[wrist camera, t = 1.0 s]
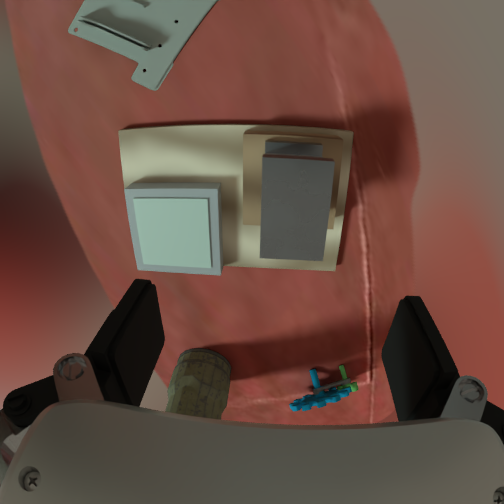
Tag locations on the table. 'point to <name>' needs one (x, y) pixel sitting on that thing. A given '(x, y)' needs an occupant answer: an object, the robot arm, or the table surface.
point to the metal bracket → (141, 31)
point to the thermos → (199, 384)
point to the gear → (325, 392)
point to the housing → (295, 200)
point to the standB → (176, 226)
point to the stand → (253, 167)
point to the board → (223, 179)
